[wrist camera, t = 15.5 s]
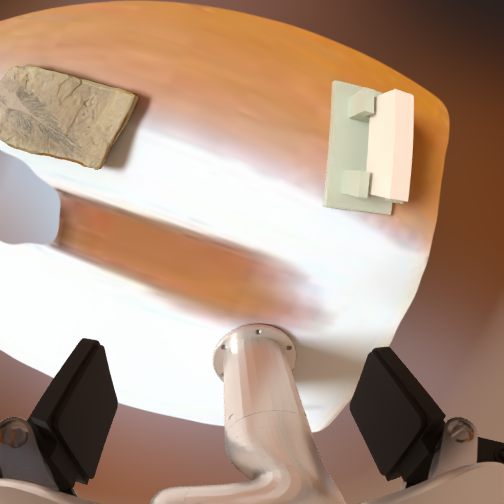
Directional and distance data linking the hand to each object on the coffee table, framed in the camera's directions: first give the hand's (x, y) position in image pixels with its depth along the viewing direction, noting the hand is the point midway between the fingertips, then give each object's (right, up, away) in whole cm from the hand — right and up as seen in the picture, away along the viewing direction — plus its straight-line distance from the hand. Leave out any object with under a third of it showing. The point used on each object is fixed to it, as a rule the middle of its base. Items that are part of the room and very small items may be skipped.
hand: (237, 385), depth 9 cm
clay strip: (+16, +17, +22) cm, 32 cm away
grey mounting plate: (+15, +18, +26) cm, 35 cm away
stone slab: (-30, +25, +20) cm, 44 cm away
